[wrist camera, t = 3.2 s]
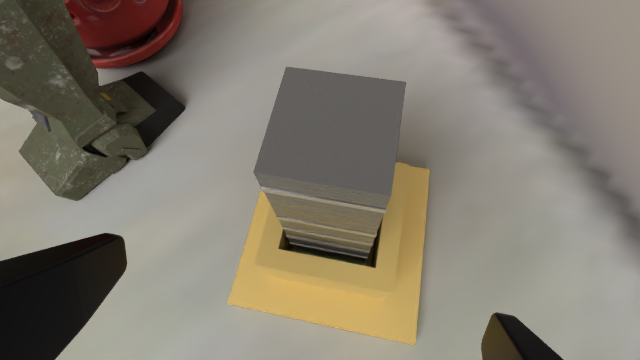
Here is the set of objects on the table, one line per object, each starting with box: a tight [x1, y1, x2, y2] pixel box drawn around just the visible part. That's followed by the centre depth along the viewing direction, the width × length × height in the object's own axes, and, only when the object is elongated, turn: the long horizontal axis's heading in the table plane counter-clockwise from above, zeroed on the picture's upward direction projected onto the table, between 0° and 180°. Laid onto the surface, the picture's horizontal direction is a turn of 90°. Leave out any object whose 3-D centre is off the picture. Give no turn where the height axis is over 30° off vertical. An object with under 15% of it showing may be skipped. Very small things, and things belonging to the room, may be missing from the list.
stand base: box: [228, 162, 430, 345], centre depth 20 cm, size 11×11×5 cm
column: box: [254, 67, 406, 266], centre depth 16 cm, size 4×4×12 cm
